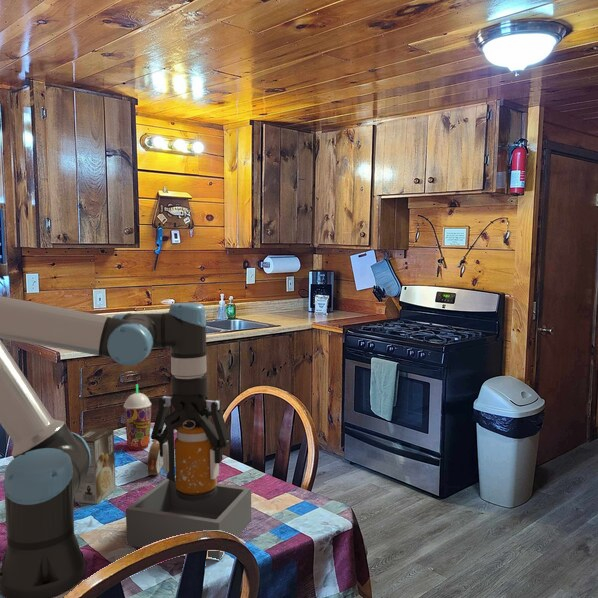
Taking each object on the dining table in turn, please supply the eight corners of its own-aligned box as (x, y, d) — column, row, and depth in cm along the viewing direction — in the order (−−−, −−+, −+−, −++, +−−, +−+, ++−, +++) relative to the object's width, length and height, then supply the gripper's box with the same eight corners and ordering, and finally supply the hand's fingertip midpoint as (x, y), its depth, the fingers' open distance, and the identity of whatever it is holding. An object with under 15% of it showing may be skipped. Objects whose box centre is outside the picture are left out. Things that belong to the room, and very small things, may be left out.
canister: (218, 502, 125) (216, 411, 123) (165, 506, 123) (162, 413, 121) (216, 485, 134) (215, 400, 132) (167, 489, 132) (164, 402, 130)
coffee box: (93, 487, 153) (92, 427, 151) (116, 489, 152) (114, 429, 150) (73, 502, 144) (71, 439, 142) (97, 504, 143) (95, 441, 141)
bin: (219, 561, 118) (219, 523, 117) (126, 545, 124) (125, 508, 123) (251, 521, 134) (251, 488, 133) (168, 509, 140) (167, 477, 140)
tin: (157, 459, 172) (157, 432, 172) (168, 459, 173) (167, 431, 172) (146, 480, 157) (145, 450, 157) (158, 480, 158) (157, 450, 157)
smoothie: (137, 453, 177) (135, 389, 175) (118, 448, 181) (117, 385, 180) (158, 445, 184) (156, 383, 182) (139, 440, 188) (138, 380, 186)
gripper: (245, 374, 126) (246, 473, 128) (150, 367, 132) (153, 462, 135) (231, 382, 119) (233, 487, 121) (132, 375, 125) (135, 474, 127)
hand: (191, 474), depth 128 cm, fingers closed on canister, 11 cm apart
